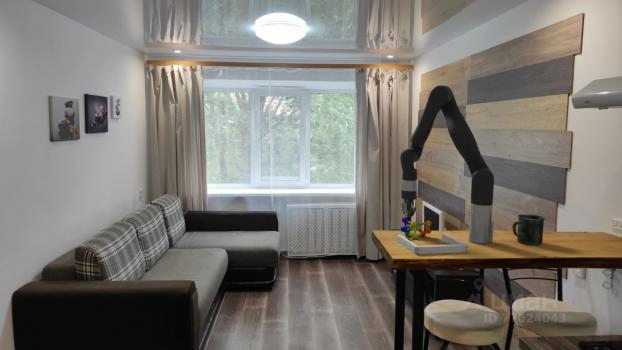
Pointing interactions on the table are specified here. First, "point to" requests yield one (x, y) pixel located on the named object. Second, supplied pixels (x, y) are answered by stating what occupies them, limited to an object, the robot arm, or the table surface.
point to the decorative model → (415, 226)
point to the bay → (435, 246)
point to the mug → (529, 229)
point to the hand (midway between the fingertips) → (408, 224)
